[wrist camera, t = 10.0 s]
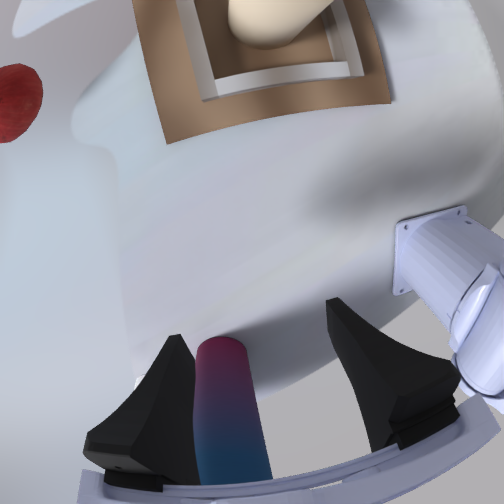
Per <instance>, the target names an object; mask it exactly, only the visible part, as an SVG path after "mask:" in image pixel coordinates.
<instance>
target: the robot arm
mask: <svg viewBox="0 0 504 504" xmlns="http://www.w3.org/2000/svg"><path fill="white" fill-rule="evenodd" d="M457 212H458V213H457ZM406 224H407V225H406ZM405 225H406V227H405ZM404 227H405V228H404ZM412 290H414V291H415V292H416V293H417V294H418V295H419V297H420V298H421V299H422V300H423V301H424V302H425V303H426V305H427V306H428V307H429V308H430V309H431V311H432V312H433V313H434V314H435V315H436V317H437V318H438V319H439V320H440V321H441V323H442V324H443V325H444V326H445V328H446V329H447V330H448V331H449V333H450V334H451V338H450V340H449V342H448V344H449V346H450V347H451V348H452V350H453V351H454V354H453V356H452V359H451V361H450V360H446V359H442V358H438V357H434V356H431V355H428V354H425V353H422V352H419V351H417V350H415V349H412V348H410V347H408V346H405V345H403V344H401V343H399V342H397V341H395V340H394V339H392V338H390V337H388V336H387V335H385V334H384V333H382V332H380V331H379V330H378V329H376V328H375V327H373V326H372V325H371V324H369V323H368V322H367V321H365V320H364V319H363V318H361V317H360V316H359V315H358V314H357V313H355V312H354V311H353V310H352V309H351V308H350V307H348V306H347V305H346V304H345V303H344V302H343V301H342V300H341V299H340V298H338V297H337V298H333V299H330V300H326V312H327V326H328V332H329V335H330V338H331V341H332V344H333V347H334V349H335V351H336V353H337V355H338V357H339V359H340V361H341V363H342V365H343V367H344V369H345V371H346V374H347V376H348V378H349V380H350V382H351V384H352V386H353V389H354V392H355V395H356V398H357V401H358V404H359V407H360V410H361V414H362V417H363V420H364V424H365V427H366V431H367V435H368V439H369V443H370V447H371V451H372V453H371V454H368V455H365V456H362V457H360V458H357V459H354V460H351V461H348V462H345V463H341V464H338V465H335V466H331V467H328V468H324V469H320V470H316V471H312V472H308V473H303V474H299V475H294V476H289V477H283V478H278V479H272V480H265V481H258V482H249V483H240V484H227V485H204V486H201V482H200V477H199V472H198V467H197V460H196V453H195V444H194V432H193V408H194V396H195V383H196V369H195V359H194V357H193V356H192V354H191V352H190V350H189V349H188V347H187V345H186V343H185V341H184V340H183V338H182V336H181V334H177V335H171V336H169V337H168V339H167V340H166V342H165V344H164V345H163V347H162V349H161V351H160V352H159V354H158V356H157V357H156V359H155V361H154V362H153V364H152V366H151V367H150V369H149V370H148V372H147V373H146V375H145V376H144V378H143V379H142V381H141V382H140V383H139V385H138V386H137V387H136V389H135V390H134V391H133V392H132V394H131V395H130V396H129V397H128V398H127V399H126V400H125V401H124V402H123V404H121V406H120V407H119V408H118V409H117V410H116V411H114V412H113V413H112V414H111V415H110V416H109V417H108V418H106V419H105V420H104V421H103V422H101V423H100V424H99V425H97V426H96V427H95V428H93V429H92V430H90V431H89V432H88V433H87V437H86V440H85V445H84V449H83V454H84V456H85V457H86V458H87V459H89V460H90V461H92V462H93V463H95V464H96V465H98V466H100V467H102V468H103V469H105V474H102V473H99V472H95V471H90V470H86V469H83V470H82V475H81V480H80V486H79V492H78V499H77V504H383V503H385V502H387V501H390V500H392V499H395V498H397V497H399V496H401V495H403V494H406V493H408V492H410V491H412V490H414V489H416V488H418V487H420V486H422V485H423V484H425V483H427V482H429V481H431V480H433V479H434V478H436V477H438V476H440V475H441V474H443V473H445V472H446V471H448V470H450V469H451V468H453V467H454V466H456V465H457V464H459V463H460V462H462V461H463V460H465V459H466V458H468V457H469V456H471V455H472V454H474V453H475V452H476V451H478V450H479V449H480V448H481V447H483V446H484V445H485V444H486V443H487V442H489V441H490V440H491V439H492V438H493V437H494V436H495V435H496V434H498V433H499V432H500V431H501V428H500V426H499V424H498V422H497V421H496V419H495V417H494V416H493V414H492V412H491V411H490V409H489V407H488V405H487V404H490V405H491V406H493V407H495V408H496V409H497V410H498V411H499V412H501V413H502V414H504V239H503V238H501V237H500V236H498V235H497V234H495V233H494V232H492V231H491V230H489V229H488V228H486V227H485V226H483V225H481V224H480V223H478V222H477V221H475V220H473V219H472V218H470V217H468V216H467V207H466V206H464V205H462V206H458V207H455V208H451V209H447V210H443V211H439V212H435V213H431V214H428V215H424V216H420V217H416V218H412V219H408V220H404V221H400V222H398V223H397V225H396V234H395V262H394V277H393V289H392V293H393V294H394V296H398V295H401V294H404V293H406V292H409V291H412ZM457 386H459V387H460V388H461V389H462V391H463V392H465V393H466V394H467V395H468V396H469V397H470V398H469V399H467V400H466V401H464V402H463V403H461V404H460V405H459V406H458V407H457V408H456V407H455V405H454V403H455V399H454V397H453V393H454V392H455V390H456V388H457ZM486 403H487V404H486ZM339 480H343V481H342V483H341V484H337V485H332V486H328V487H323V488H318V489H312V490H310V489H309V488H313V487H318V486H321V485H325V484H329V483H333V482H336V481H339ZM305 489H306V490H305ZM212 500H214V501H212Z"/></svg>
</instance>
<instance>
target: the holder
mask: <svg viewBox="0 0 504 504" xmlns="http://www.w3.org/2000/svg"><path fill="white" fill-rule="evenodd" d="M132 3H133V8H134V13H135V18H136V23H137V28H138V33H139V37H140V42H141V46H142V51H143V55H144V60H145V64H146V68H147V72H148V76H149V80H150V84H151V88H152V92H153V96H154V100H155V103H156V107H157V111H158V115H159V118H160V122H161V125H162V129H163V133H164V136H165V140H166V143H167V145H168V144H171V143H174V142H177V141H180V140H184V139H187V138H190V137H193V136H197V135H200V134H204V133H207V132H211V131H215V130H219V129H222V128H226V127H230V126H235V125H239V124H243V123H247V122H252V121H257V120H261V119H266V118H271V117H277V116H282V115H288V114H294V113H300V112H307V111H314V110H321V109H329V108H338V107H348V106H360V105H375V104H391V99H390V94H389V88H388V83H387V78H386V73H385V69H384V65H383V60H382V56H381V52H380V48H379V45H378V41H377V37H376V34H375V31H374V27H373V24H372V21H371V18H370V15H369V12H368V9H367V6H366V3H365V1H364V0H334V1H333V2H332V3H330V4H329V5H328V6H327V7H326V8H325V9H324V10H323V11H322V12H321V13H319V14H318V15H317V16H316V17H315V18H314V19H313V20H312V21H311V22H310V23H309V24H308V25H307V26H306V27H305V28H304V29H303V30H302V31H301V32H300V33H299V34H298V35H297V36H296V37H295V38H294V39H293V40H292V41H291V42H290V43H288V44H287V45H285V46H283V47H281V48H278V49H273V50H259V49H254V48H251V47H248V46H246V45H244V44H242V43H241V42H239V41H238V40H237V39H236V38H235V37H234V36H233V34H232V33H231V31H230V29H229V26H228V8H229V0H132Z"/></svg>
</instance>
